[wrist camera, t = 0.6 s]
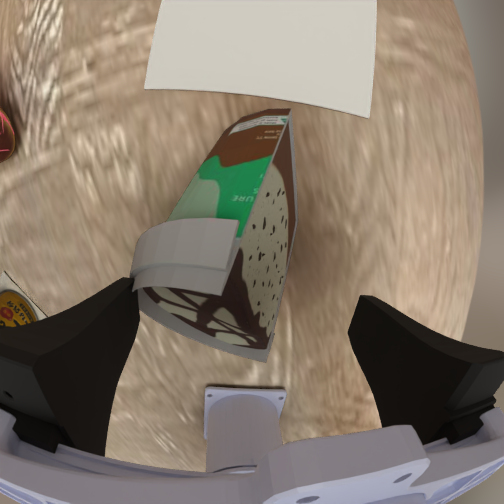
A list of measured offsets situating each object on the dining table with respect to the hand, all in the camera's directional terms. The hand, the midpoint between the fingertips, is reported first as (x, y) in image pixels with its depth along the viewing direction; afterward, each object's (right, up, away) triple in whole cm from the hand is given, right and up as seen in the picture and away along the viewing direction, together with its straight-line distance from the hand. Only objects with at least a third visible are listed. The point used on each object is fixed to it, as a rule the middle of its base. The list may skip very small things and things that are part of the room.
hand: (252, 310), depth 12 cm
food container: (0, +8, +6) cm, 10 cm away
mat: (+1, +19, +4) cm, 20 cm away
